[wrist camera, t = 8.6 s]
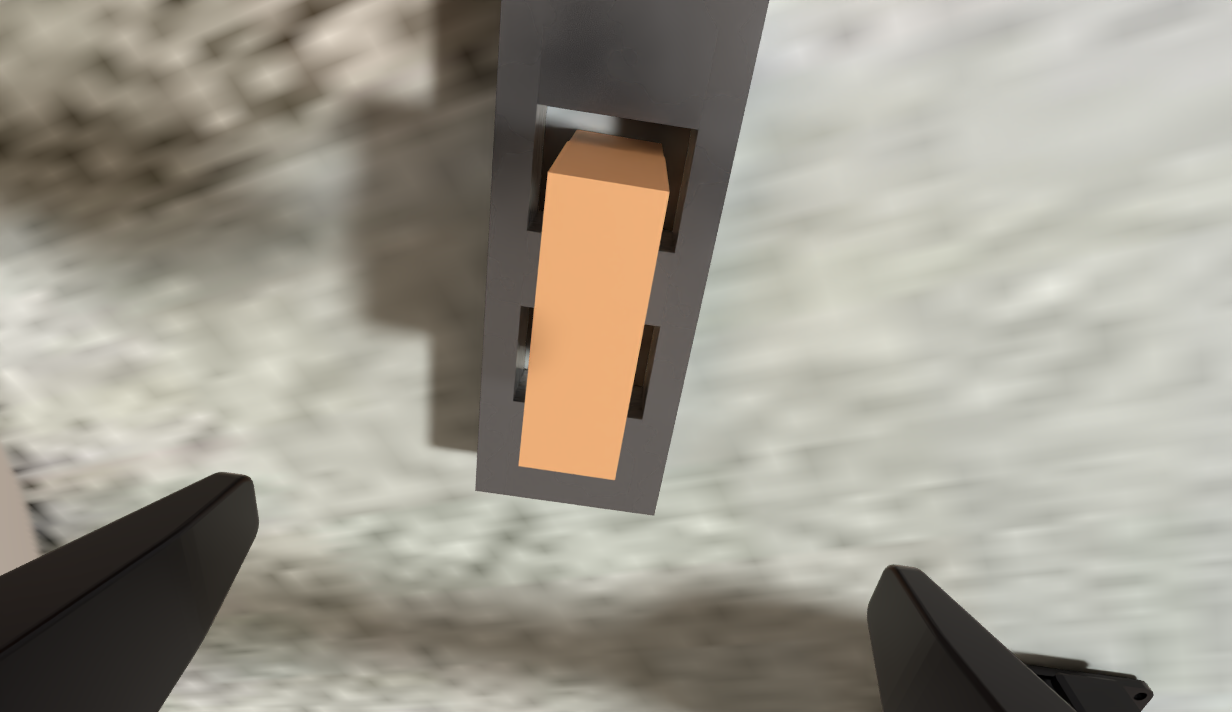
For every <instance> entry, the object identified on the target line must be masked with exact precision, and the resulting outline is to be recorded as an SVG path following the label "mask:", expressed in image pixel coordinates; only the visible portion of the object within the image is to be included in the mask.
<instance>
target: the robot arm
mask: <svg viewBox="0 0 1232 712" xmlns="http://www.w3.org/2000/svg"><path fill="white" fill-rule="evenodd" d="M258 527H259V517H258V510H257V504H256V497H255V491H254V485H253V481H252V480H251V478H250V477H248V476H246V475H242V474H235V473H227V472H218V473H215V474H212V475H210V476H208V477H206V478H204V479H202V480H200V481H198V482H196V483H193V484H191V485H189V486H187V487H185V488H183V489H181V490H179V491H177V492H175V493H173V494H170V495H168V496H166V497H164V498H162V499H160V500H158V501H156V502H154V503H152V504H150V505H147V506H145V507H143V508H141V509H139V510H137V511H135V512H133V513H131V514H129V515H127V516H124V517H122V518H120V519H118V520H116V521H114V522H112V523H110V524H108V525H106V526H104V527H101V528H99V529H97V530H95V531H93V532H91V533H89V534H87V535H85V536H83V537H81V538H78V539H76V540H74V541H72V542H70V543H68V544H66V545H64V546H62V547H60V548H58V549H55V550H53V551H51V552H49V553H47V554H45V555H43V556H41V557H39V558H37V559H35V560H33V561H30V562H28V563H26V564H24V565H22V566H20V567H18V568H16V569H14V570H12V571H10V572H8V573H5V574H3V575H1V576H0V712H158V711H159V710H160V708H161V707H162V705H163V704H164V702H165V700H166V699H167V697H168V696H169V694H170V693H171V691H172V689H173V688H174V686H175V685H176V683H177V682H178V680H179V678H180V677H181V675H182V674H183V672H184V671H185V669H186V667H187V666H188V664H189V663H190V661H191V660H192V658H193V656H194V655H195V653H196V651H197V650H198V648H199V646H200V645H201V643H202V642H203V640H204V638H205V636H206V634H207V633H208V631H209V629H210V627H211V625H212V623H213V621H214V619H215V617H216V615H217V613H218V611H219V609H220V607H221V605H222V603H223V601H224V599H225V597H226V595H227V593H228V591H229V589H230V587H231V585H232V583H233V581H234V579H235V577H236V575H237V573H238V571H239V569H240V567H241V565H242V563H243V561H244V559H245V557H246V555H247V553H248V551H249V549H250V547H251V545H252V543H253V541H254V539H255V537H256V534H257V531H258ZM867 621H868V627H869V633H870V639H871V645H872V651H873V656H874V662H875V668H876V674H877V680H878V685H879V691H880V697H881V703H882V709H883V712H1141V711H1142V709H1143V708H1144V707H1145V706H1146V705H1147V703H1148V702H1149V701H1150V700H1151V699H1152V697H1153V692H1152V690H1151V689H1150V688H1149V686H1148V685H1147V684H1146V683H1145V682H1144V681H1141V680H1135V679H1128V678H1120V677H1113V676H1106V675H1098V674H1091V673H1083V672H1076V671H1068V670H1061V669H1054V668H1046V667H1039V666H1031V665H1025V664H1024V663H1023V662H1022V661H1021V660H1019V659H1018V658H1017V657H1016V656H1015V655H1014V654H1013V653H1012V652H1011V651H1010V650H1008V649H1007V648H1006V647H1005V646H1004V645H1003V644H1002V643H1001V642H1000V641H999V640H997V639H996V638H995V637H994V636H993V635H992V634H991V633H990V632H989V631H988V630H986V629H985V628H984V627H983V626H982V625H981V624H980V623H979V622H978V621H977V620H975V619H974V618H973V617H972V616H971V615H970V614H969V613H968V612H967V611H965V610H964V609H963V608H962V607H961V606H960V605H959V604H958V603H957V602H956V601H954V600H953V599H952V598H951V597H950V596H949V595H948V594H947V593H946V592H945V591H943V590H942V589H941V588H940V587H939V586H938V585H937V584H936V583H935V582H934V581H932V580H931V579H930V578H929V577H928V576H927V575H926V574H925V573H924V572H922V571H921V570H920V569H918V568H915V567H909V566H902V565H889V566H887V567H886V568H885V570H884V571H883V573H882V576H881V578H880V580H879V582H878V584H877V586H876V588H875V591H874V593H873V595H872V597H871V599H870V601H869V604H868V609H867Z"/></svg>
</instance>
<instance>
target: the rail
mask: <svg viewBox="0 0 1232 712" xmlns="http://www.w3.org/2000/svg"><path fill="white" fill-rule="evenodd" d="M768 4H769V0H501V15H500V34H499V53H498V72H497V91H496V110H495V129H494V148H493V167H492V186H491V205H490V224H489V243H488V262H487V281H486V300H485V319H484V338H483V357H482V376H481V395H480V414H479V433H478V452H477V471H476V490H475V491H482V492H489V493H496V494H503V495H510V496H518V497H525V498H532V499H539V500H546V501H553V502H561V503H568V504H575V505H582V506H589V507H597V508H604V509H611V510H618V511H625V512H632V513H640V514H647V515H654V514H655V509H656V505H657V500H658V496H659V491H660V487H661V482H662V478H663V473H664V469H665V464H666V460H667V455H668V451H669V446H670V442H671V437H672V433H673V429H674V424H675V420H676V415H677V411H678V406H679V402H680V397H681V393H682V388H683V384H684V379H685V375H686V370H687V366H688V361H689V357H690V353H691V348H692V344H693V339H694V335H695V330H696V326H697V321H698V317H699V312H700V308H701V303H702V299H703V294H704V290H705V285H706V281H707V276H708V272H709V268H710V263H711V259H712V254H713V250H714V245H715V241H716V236H717V232H718V227H719V223H720V218H721V214H722V209H723V205H724V200H725V196H726V191H727V187H728V183H729V178H730V174H731V169H732V165H733V160H734V156H735V151H736V147H737V142H738V138H739V133H740V129H741V124H742V120H743V115H744V111H745V106H746V102H747V98H748V93H749V89H750V84H751V80H752V75H753V71H754V66H755V62H756V57H757V53H758V48H759V44H760V39H761V35H762V30H763V26H764V21H765V17H766V13H767V8H768ZM547 106H551V107H558V108H564V109H570V110H577V111H583V112H589V113H596V114H602V115H608V116H615V117H621V118H627V119H634V120H640V121H646V122H653V123H659V124H665V125H672V126H678V127H684V128H691V134H690V140H689V145H688V150H687V155H686V161H685V166H684V171H683V177H682V182H681V187H680V192H679V198H678V203H677V208H676V213H675V219H674V224H673V229H672V231H667V230H662V234H661V240H660V245H659V250H658V256H657V261H656V266H655V271H654V277H653V282H652V287H651V292H650V298H649V303H648V308H647V313H646V319H645V324H646V325H653V326H654V330H653V335H652V340H651V345H650V351H649V356H648V361H647V366H646V372H645V377H644V382H643V387H641V386H634V385H633V387H632V392H631V398H630V403H629V408H628V413H627V419H626V424H625V429H624V435H623V440H622V445H621V450H620V456H619V461H618V466H617V471H616V477H615V480H610V479H603V478H597V477H590V476H583V475H576V474H569V473H562V472H556V471H549V470H542V469H535V468H528V467H522V466H519V456H520V446H521V436H522V426H523V416H524V406H525V396H526V386H527V376H528V370H524V363H525V352H526V340H527V329H528V318H529V307H532V308H534V306H535V296H536V286H537V276H538V266H539V256H540V246H541V236H542V226H543V216H544V212H542V211H538V204H539V192H540V181H541V169H542V158H543V147H544V135H545V124H546V112H547Z"/></svg>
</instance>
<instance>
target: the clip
mask: <svg viewBox="0 0 1232 712" xmlns="http://www.w3.org/2000/svg"><path fill="white" fill-rule="evenodd" d="M669 192H670V191H669V184H668V176H667V169H666V161H665V157H664V156H663V148H662V143H656V142H650V141H644V140H638V139H632V138H626V137H620V136H613V135H607V134H601V133H595V132H589V131H583V130H576V131H575V133H574V135H573V136H572V138H571V139H570V141H567V142H566V144H565V146H564V147H563V149H562V150H561V152H560V154H559V155H558V157H557V158H556V160H555V162H554V163H553V165H552V166H551V168H550V170H549V171H548V176H547V186H546V196H545V206H544V216H543V226H542V236H541V246H540V256H539V266H538V276H537V286H536V296H535V306H534V316H533V326H532V336H531V346H530V356H529V366H528V376H527V386H526V396H525V406H524V416H523V426H522V436H521V446H520V456H519V466H522V467H528V468H535V469H542V470H549V471H556V472H562V473H569V474H576V475H583V476H590V477H597V478H603V479H610V480H615V477H616V471H617V466H618V461H619V456H620V450H621V445H622V440H623V435H624V429H625V424H626V419H627V413H628V408H629V403H630V398H631V392H632V387H633V382H634V377H635V371H636V366H637V361H638V356H639V350H640V345H641V340H642V335H643V329H644V324H645V319H646V313H647V308H648V303H649V298H650V292H651V287H652V282H653V277H654V271H655V266H656V261H657V256H658V250H659V245H660V240H661V234H662V229H663V224H664V219H665V213H666V208H667V203H668V198H669Z"/></svg>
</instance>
